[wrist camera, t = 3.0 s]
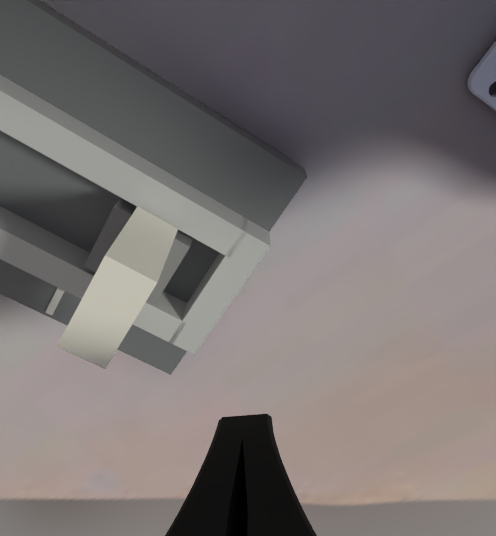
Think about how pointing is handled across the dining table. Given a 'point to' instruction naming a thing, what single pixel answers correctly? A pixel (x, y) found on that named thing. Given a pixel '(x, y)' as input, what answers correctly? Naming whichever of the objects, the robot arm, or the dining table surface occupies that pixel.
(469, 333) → the dining table surface
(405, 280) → the dining table surface
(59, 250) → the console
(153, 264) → the fader
